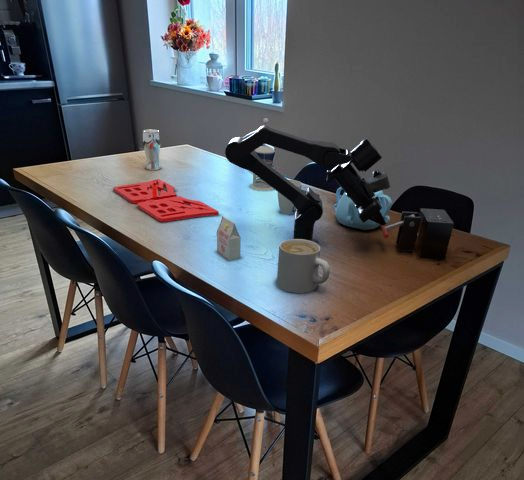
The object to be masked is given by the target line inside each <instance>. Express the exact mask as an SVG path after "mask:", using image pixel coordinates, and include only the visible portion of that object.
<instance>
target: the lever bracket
mask: <svg viewBox="0 0 524 480" xmlns="http://www.w3.org/2000/svg"><path fill="white" fill-rule="evenodd" d="M412 214H414V216H409V215H412ZM418 216H419V212H417V211H406V210H405V211H404V210H403V211H402V212H401V217H400V221H399V222H401V221H403V226H400V227H398V231H397V236H396V241H395V244H396V247H397V249H398V253H400V254H413V251H414V250H415V247H414V246H415V242H416V237H417V233H418V228H419V224H420V219H421V218H420V217H418Z"/></svg>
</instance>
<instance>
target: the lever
mask: <svg viewBox="0 0 524 480" xmlns="http://www.w3.org/2000/svg"><path fill="white" fill-rule="evenodd" d="M409 216H414V214H412V215H409ZM400 221H401V220H400ZM400 221H398V222H395V223H392V224H388V225H386V224H385V225H384V226H382V225H380V229H381V232H382V235H383V237H384V238H385V239H388V238H389V237H390V235H389V232H388V231H390V230H395V229H397V228H399V227H400V226H403V221H401V222H400Z"/></svg>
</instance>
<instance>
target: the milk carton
mask: <svg viewBox="0 0 524 480" xmlns="http://www.w3.org/2000/svg"><path fill="white" fill-rule="evenodd" d="M236 225H237V224H236V223H235V222H234V221H232V220H231V219H229V218H227V217H225V216H224V215H222V216H221V220H220V223H219V225H218V228H217V231H216V252H217V253H218V254H219V255H221V256H222V257H224V259H226V260H227V261H233V260H238V259H241V241H242V239H241V235H240V233H239V231H238V228H237V226H236Z"/></svg>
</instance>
